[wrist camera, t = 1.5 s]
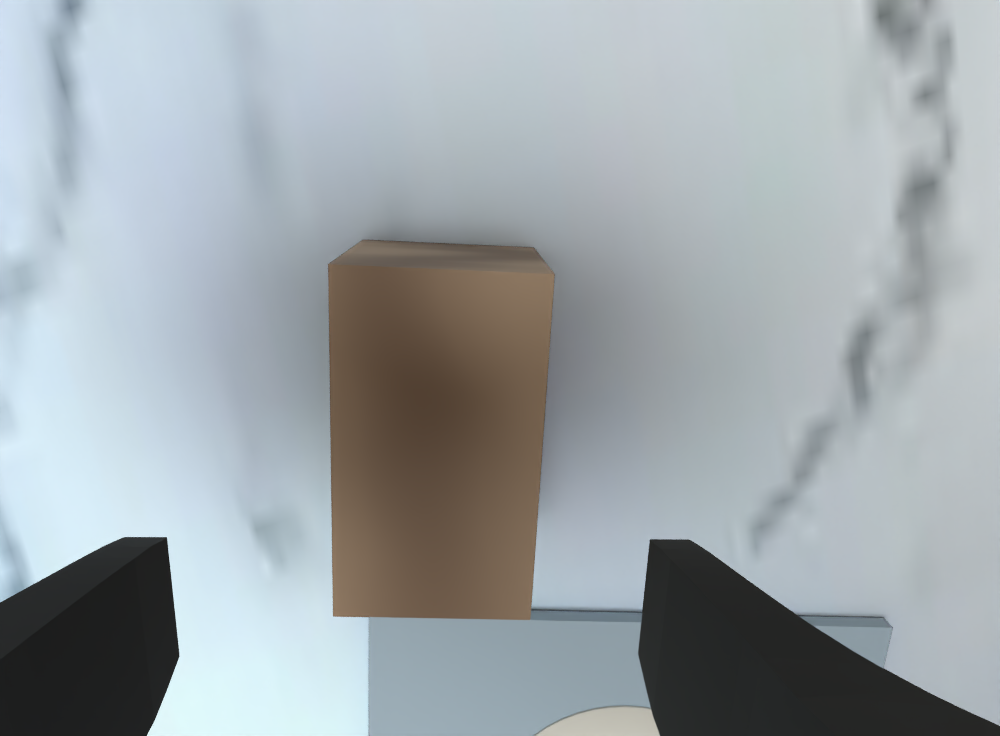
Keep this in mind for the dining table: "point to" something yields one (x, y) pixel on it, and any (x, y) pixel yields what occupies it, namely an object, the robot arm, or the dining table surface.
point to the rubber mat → (532, 673)
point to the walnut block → (436, 427)
